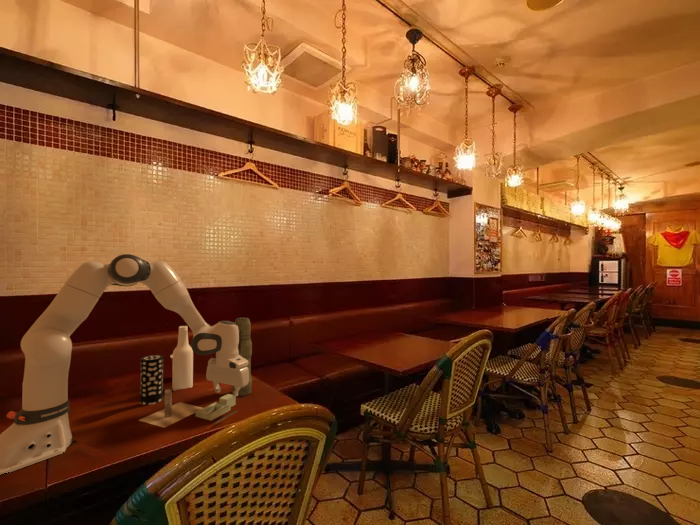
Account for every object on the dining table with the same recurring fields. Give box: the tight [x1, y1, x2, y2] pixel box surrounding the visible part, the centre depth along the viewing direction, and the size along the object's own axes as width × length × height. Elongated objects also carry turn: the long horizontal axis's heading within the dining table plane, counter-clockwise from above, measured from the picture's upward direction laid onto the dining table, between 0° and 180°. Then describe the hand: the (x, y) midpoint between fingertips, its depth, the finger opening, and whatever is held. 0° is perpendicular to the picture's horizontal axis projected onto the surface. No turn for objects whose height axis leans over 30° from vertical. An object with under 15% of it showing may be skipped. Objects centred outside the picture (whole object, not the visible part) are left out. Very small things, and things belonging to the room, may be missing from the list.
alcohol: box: [171, 325, 194, 392], centre depth 162 cm, size 9×9×30 cm
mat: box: [212, 409, 238, 425], centre depth 135 cm, size 12×10×1 cm
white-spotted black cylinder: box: [139, 354, 164, 406], centre depth 144 cm, size 8×8×20 cm
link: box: [195, 393, 237, 422], centre depth 135 cm, size 15×8×5 cm, turn 156°
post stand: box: [138, 388, 204, 429], centre depth 132 cm, size 18×14×12 cm
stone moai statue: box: [231, 316, 253, 398], centre depth 158 cm, size 9×12×35 cm
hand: (226, 394), depth 139 cm, fingers open, 8 cm apart
